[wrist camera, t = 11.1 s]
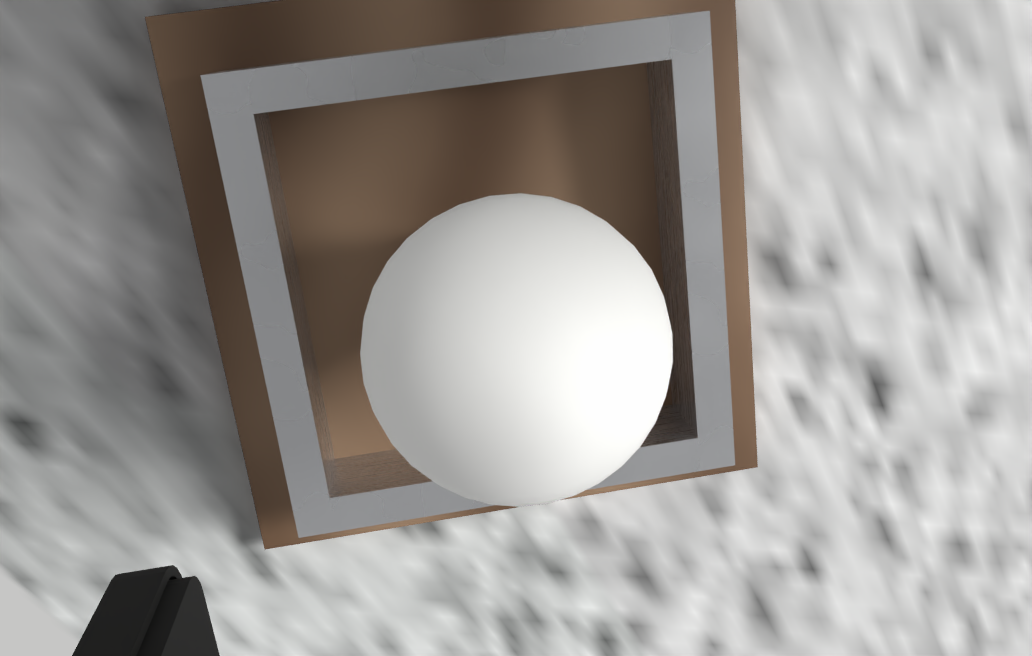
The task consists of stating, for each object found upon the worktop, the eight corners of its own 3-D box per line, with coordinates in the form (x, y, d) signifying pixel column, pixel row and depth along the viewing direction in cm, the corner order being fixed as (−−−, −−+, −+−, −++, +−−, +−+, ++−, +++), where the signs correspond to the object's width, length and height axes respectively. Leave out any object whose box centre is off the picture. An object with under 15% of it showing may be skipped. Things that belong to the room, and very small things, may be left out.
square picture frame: (679, 12, 25) (709, 10, 23) (707, 429, 29) (734, 465, 27) (219, 71, 24) (200, 75, 22) (306, 495, 28) (298, 537, 26)
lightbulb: (487, 101, 25) (549, 144, 15) (636, 263, 27) (785, 403, 17) (324, 260, 26) (275, 407, 16) (479, 408, 28) (528, 629, 17)
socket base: (720, -52, 26) (732, -55, 25) (746, 453, 31) (757, 467, 30) (154, 17, 25) (145, 16, 24) (268, 532, 29) (264, 549, 28)
